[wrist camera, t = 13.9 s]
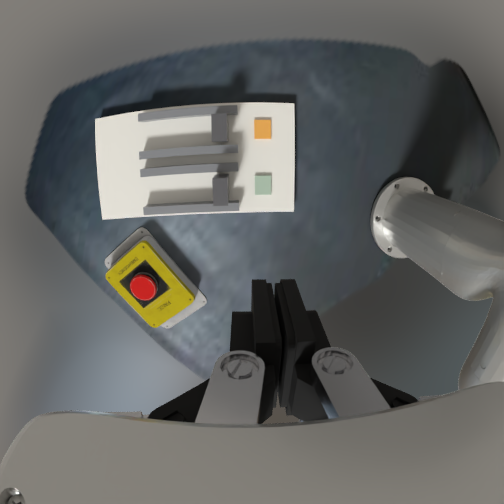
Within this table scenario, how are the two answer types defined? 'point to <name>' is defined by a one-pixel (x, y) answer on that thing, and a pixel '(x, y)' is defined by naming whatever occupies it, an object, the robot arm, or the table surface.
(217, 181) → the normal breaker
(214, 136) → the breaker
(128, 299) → the emergency button
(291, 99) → the table surface
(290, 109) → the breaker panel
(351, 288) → the table surface
